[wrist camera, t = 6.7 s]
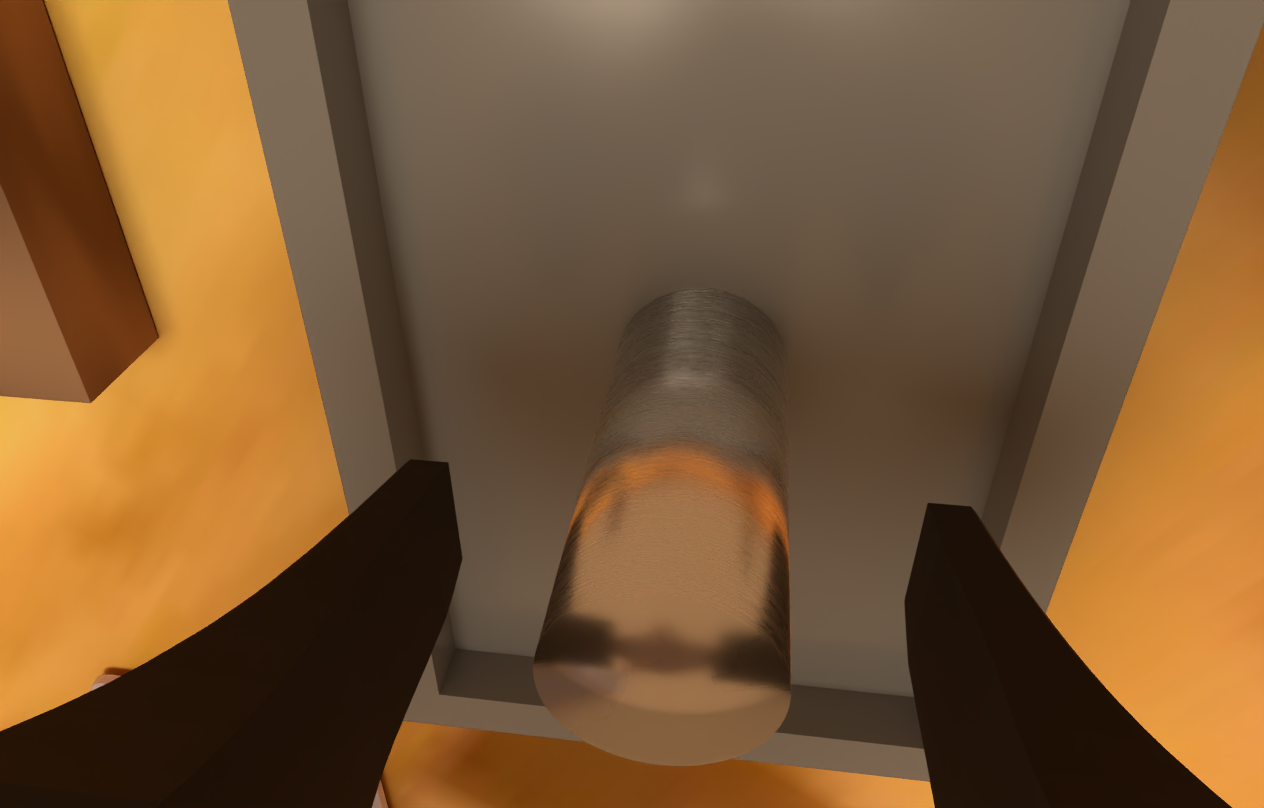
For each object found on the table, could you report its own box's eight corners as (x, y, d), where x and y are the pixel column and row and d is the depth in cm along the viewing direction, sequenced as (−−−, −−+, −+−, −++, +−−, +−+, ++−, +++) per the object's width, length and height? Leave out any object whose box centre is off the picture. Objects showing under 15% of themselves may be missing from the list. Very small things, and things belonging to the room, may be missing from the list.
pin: (785, 433, 18) (787, 774, 12) (624, 430, 19) (549, 756, 13) (789, 287, 17) (794, 602, 10) (611, 288, 17) (516, 590, 11)
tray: (967, 714, 23) (981, 787, 22) (423, 656, 25) (397, 720, 23) (1295, -280, 12) (1375, -282, 10) (238, -276, 13) (162, -277, 12)
